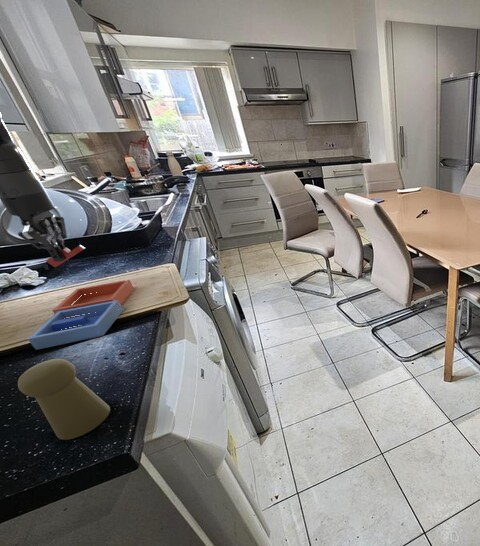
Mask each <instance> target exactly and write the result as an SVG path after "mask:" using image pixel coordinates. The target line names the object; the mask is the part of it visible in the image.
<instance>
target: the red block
mask: <svg viewBox="0 0 480 546" xmlns="http://www.w3.org/2000/svg"><path fill="white" fill-rule="evenodd" d="M65 247H66V246H65ZM85 249H86V247H84V246H83V245H81V244H79V245H78V246H76V247H75V248H73V249H72V250H71V249H69V248H68V247H66V248H64V249H63V250H62V252H63V254H64V256H65V257H66V259H65V260H64V261H54V260H53V258H52V256H51V257H49V258H47V259H46V260H45V262H46V263H48V264H49V265H50V266H52V267H54V268H57V267H58V266H60V265H62V264H63V263H65V262H67V261H68V260H69V259H71V258H72V257H74V256H76V255H77V254H79V253H80V252H82V251H83V250H85Z"/></svg>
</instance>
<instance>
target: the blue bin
mask: <svg viewBox="0 0 480 546" xmlns="http://www.w3.org/2000/svg"><path fill="white" fill-rule="evenodd" d="M118 309H119V310H118ZM123 311H124V308H123V306H122V304H121V305H120V303H119V301H118V300H116V301H111V302H106V303H100V304H95V305H90V306H84V307H79V308H74V309H68V310H63V311H58V312H57V313H56V314H53V315H52V316H51V317H50V318H49V319H48V320H47V321H46V322H44V324H42V326H40V327H39V328H38V329H37V330H36V331H34V333H33V334H32V335H31V336H30V337H28V338H27V341H28V342H29V343H30V344H31V346H32V348H34V349H35V351H38V350H43V349H46V348H52V347H57V346H61V345H66V344H70V343H75V342H79V341H80V342H81V341H85V340H90V339H94V338H99V337H104V336H105V334H107V332H108V330H109V329H110V328H111V327H112V325H113V324H114V323H115V321H116V320H118V318H119V316H120V315H121V314H122V312H123ZM95 312H96V313H95ZM88 313H90V314H88ZM82 314H85V316H86V317H87V319H90V318H92V317H95V316H101V317H100V318H99V319H98V320H97V321H96V322H95V324H92V325H87V326H82V327H77V328H72V329H67V330H62V331H57V332H55V330H54V329H53V328H52V326H51V324H52V323H53V322H54V321H58V320H63V319H64V318H65V319H68V318H66V317H70V318H74V317H71V316H75V315H80V316H84V315H82ZM75 317H79V316H75Z"/></svg>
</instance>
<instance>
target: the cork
mask: <svg viewBox="0 0 480 546" xmlns="http://www.w3.org/2000/svg"><path fill="white" fill-rule="evenodd" d="M76 375H77V371H76V366H75V365H74V364H73V363H72V362H71V361H69V360H67V359H65V358H53V359H48V360H45V361H42V362H40V363H37V364H35V365H33V366H31V367H29V368H28V369H27V370H25V371H24V372H23V373H22V374H21V375H20V376H19V377H18V381H17V387H18V391H20V392H21V393H22V394H24V395H25V396H27V397H29V398H35V400H36V402H37V404H38V405H39V407H40V409H41V411H42V412H43V414H44V416H45V418H46V420H47V422H48V424H49V425H50V427H51V429H52V430H53V433H54V435H55V436H56V437H57V438H58V439H59V440H62V441H63V440H64V441H68V440H72V439H76V438H79V437H81V436H83V435H85V434H87V433H90V432H91V431H93V430H94V429H96V428H97V427H98V426H100V425H101V424H102V423H103V422H104V421H105V420H106V419H107V418H108V416H109V415H110V412H111V406H110V405H109V404H107V403H106V402H105V401H104V400H103V399H102V398H101V397H100V396H98V395H97V394H96V393H95V392H94V391H93V390H91V389H90V387H88V386H87V385H86V384H84V383H83V382H82V381H81V380H80V379H79V378H78V377H77V376H76Z"/></svg>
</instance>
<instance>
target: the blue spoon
mask: <svg viewBox="0 0 480 546" xmlns="http://www.w3.org/2000/svg"><path fill="white" fill-rule="evenodd" d="M100 317H101V316H95V317H92V318H90V319H87V317H86V316H85V315H84V316H79V317H74V318H68V319H63V320H58V321H54V322H53V323H52V324H51V326H52V328H53V329H54V330H55V332H57V331H62V330H67V329H72V328H77V327H82V326H87V325H92V324H95V322H96V321H97V320H98V319H99V318H100ZM78 325H82V326H78ZM73 326H77V327H73ZM69 327H72V328H69ZM65 328H67V329H65ZM61 329H62V330H61Z"/></svg>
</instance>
